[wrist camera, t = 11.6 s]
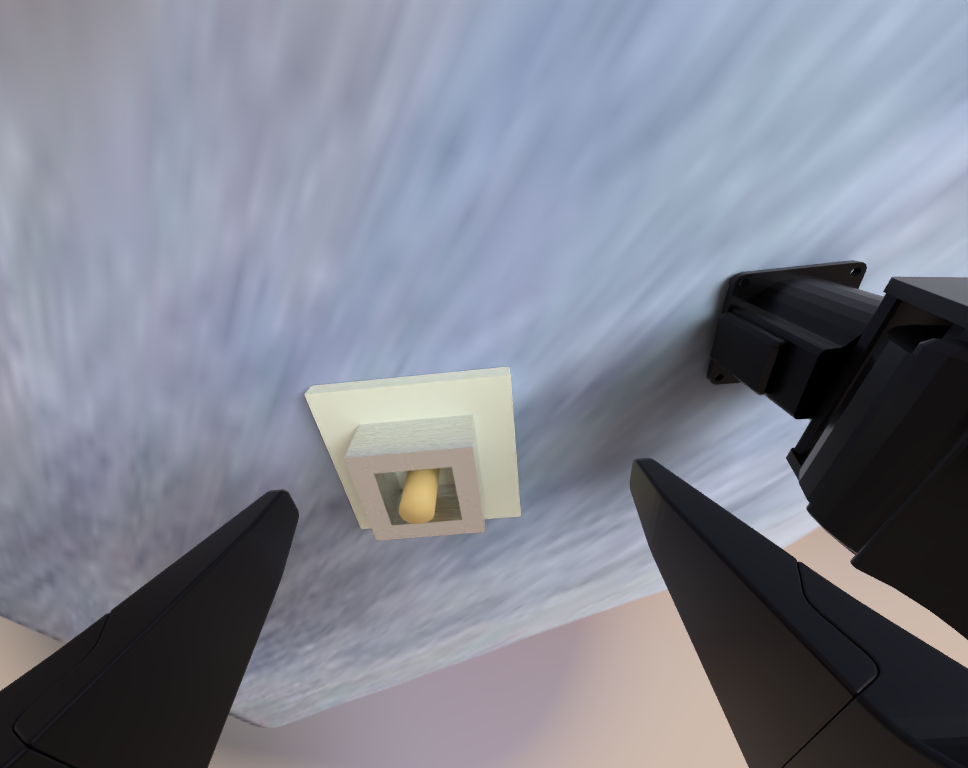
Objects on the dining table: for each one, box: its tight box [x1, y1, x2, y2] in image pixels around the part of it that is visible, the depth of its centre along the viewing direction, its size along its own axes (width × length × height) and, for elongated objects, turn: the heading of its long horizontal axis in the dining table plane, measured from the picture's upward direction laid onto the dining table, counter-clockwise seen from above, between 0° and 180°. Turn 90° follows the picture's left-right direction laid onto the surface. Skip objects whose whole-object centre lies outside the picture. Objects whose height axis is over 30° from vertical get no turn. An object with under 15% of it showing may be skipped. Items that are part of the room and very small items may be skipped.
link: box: [344, 414, 485, 541], centre depth 22 cm, size 7×7×3 cm
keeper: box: [304, 367, 521, 529], centre depth 22 cm, size 12×12×5 cm
